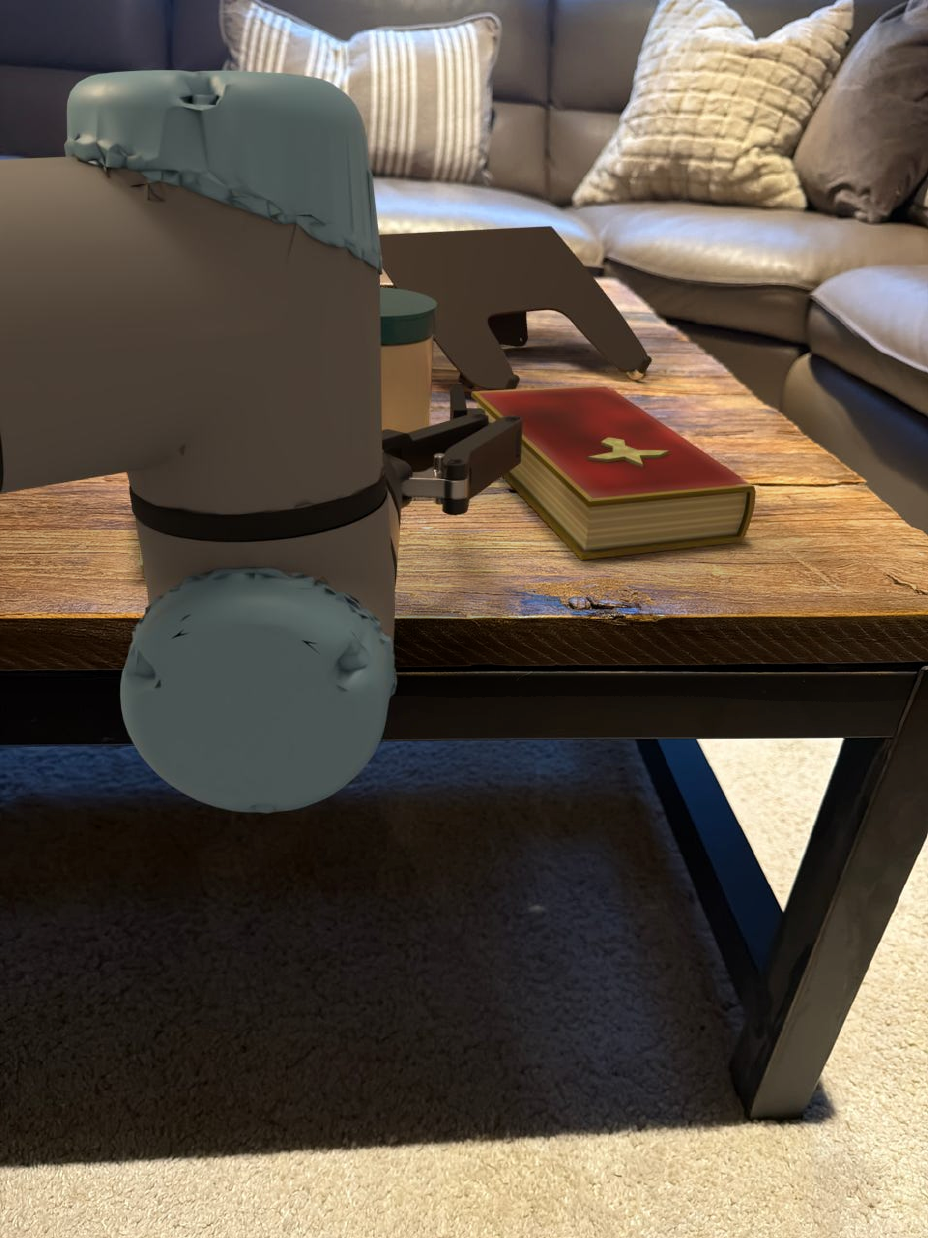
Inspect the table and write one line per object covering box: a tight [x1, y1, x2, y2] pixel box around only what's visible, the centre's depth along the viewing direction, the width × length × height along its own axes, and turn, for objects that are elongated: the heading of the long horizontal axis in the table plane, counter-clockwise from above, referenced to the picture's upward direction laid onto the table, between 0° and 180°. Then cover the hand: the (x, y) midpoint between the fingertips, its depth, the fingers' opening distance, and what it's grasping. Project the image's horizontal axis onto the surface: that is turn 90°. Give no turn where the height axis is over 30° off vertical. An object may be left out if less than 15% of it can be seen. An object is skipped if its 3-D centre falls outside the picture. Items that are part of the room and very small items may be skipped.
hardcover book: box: [470, 384, 757, 561], centre depth 68 cm, size 12×21×4 cm, turn 19°
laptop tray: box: [379, 225, 653, 391], centre depth 94 cm, size 23×23×9 cm
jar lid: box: [380, 286, 437, 344], centre depth 64 cm, size 8×8×2 cm
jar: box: [381, 334, 435, 451], centre depth 66 cm, size 8×8×12 cm
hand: (345, 405), depth 59 cm, fingers open, 13 cm apart
